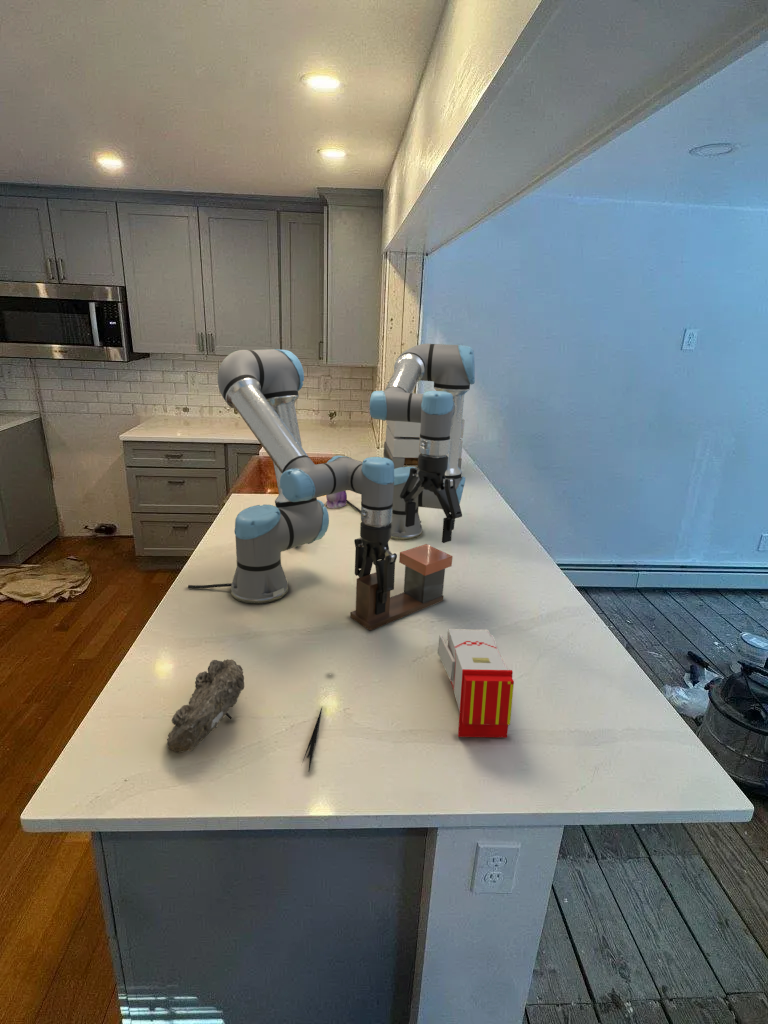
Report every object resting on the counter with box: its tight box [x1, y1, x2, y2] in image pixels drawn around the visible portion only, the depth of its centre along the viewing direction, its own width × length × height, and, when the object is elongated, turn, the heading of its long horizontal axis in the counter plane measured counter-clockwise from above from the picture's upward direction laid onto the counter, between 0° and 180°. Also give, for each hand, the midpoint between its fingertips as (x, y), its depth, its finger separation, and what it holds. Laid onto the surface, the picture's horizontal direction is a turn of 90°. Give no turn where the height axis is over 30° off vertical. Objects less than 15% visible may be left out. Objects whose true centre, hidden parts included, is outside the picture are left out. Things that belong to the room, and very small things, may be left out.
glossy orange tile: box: [398, 543, 453, 576], centre depth 152 cm, size 10×10×4 cm
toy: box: [437, 628, 515, 738], centre depth 117 cm, size 12×13×30 cm
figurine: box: [325, 490, 348, 509], centre depth 223 cm, size 9×10×15 cm
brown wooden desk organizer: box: [349, 565, 446, 632], centre depth 148 cm, size 8×26×12 cm, turn 131°
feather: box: [301, 673, 332, 771], centre depth 108 cm, size 2×28×2 cm
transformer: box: [383, 418, 465, 471], centre depth 268 cm, size 34×33×41 cm
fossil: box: [166, 658, 245, 754], centre depth 106 cm, size 22×10×15 cm
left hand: (372, 607), depth 143 cm, fingers closed on brown wooden desk organizer, 5 cm apart
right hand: (427, 533), depth 149 cm, fingers open, 13 cm apart
